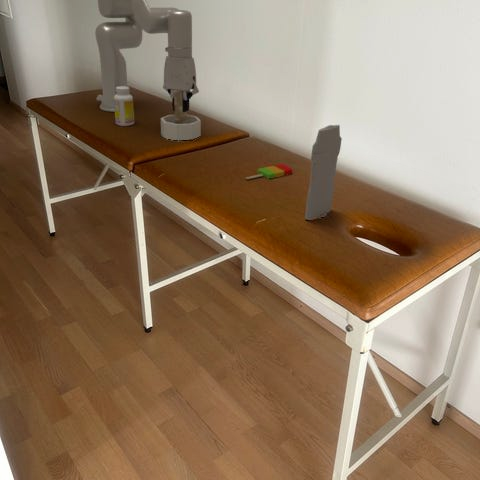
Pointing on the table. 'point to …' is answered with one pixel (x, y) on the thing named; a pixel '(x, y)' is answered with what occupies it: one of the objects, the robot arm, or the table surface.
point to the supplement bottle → (123, 106)
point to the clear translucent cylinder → (179, 108)
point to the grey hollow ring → (180, 128)
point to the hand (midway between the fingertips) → (180, 110)
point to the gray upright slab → (323, 172)
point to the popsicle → (272, 171)
